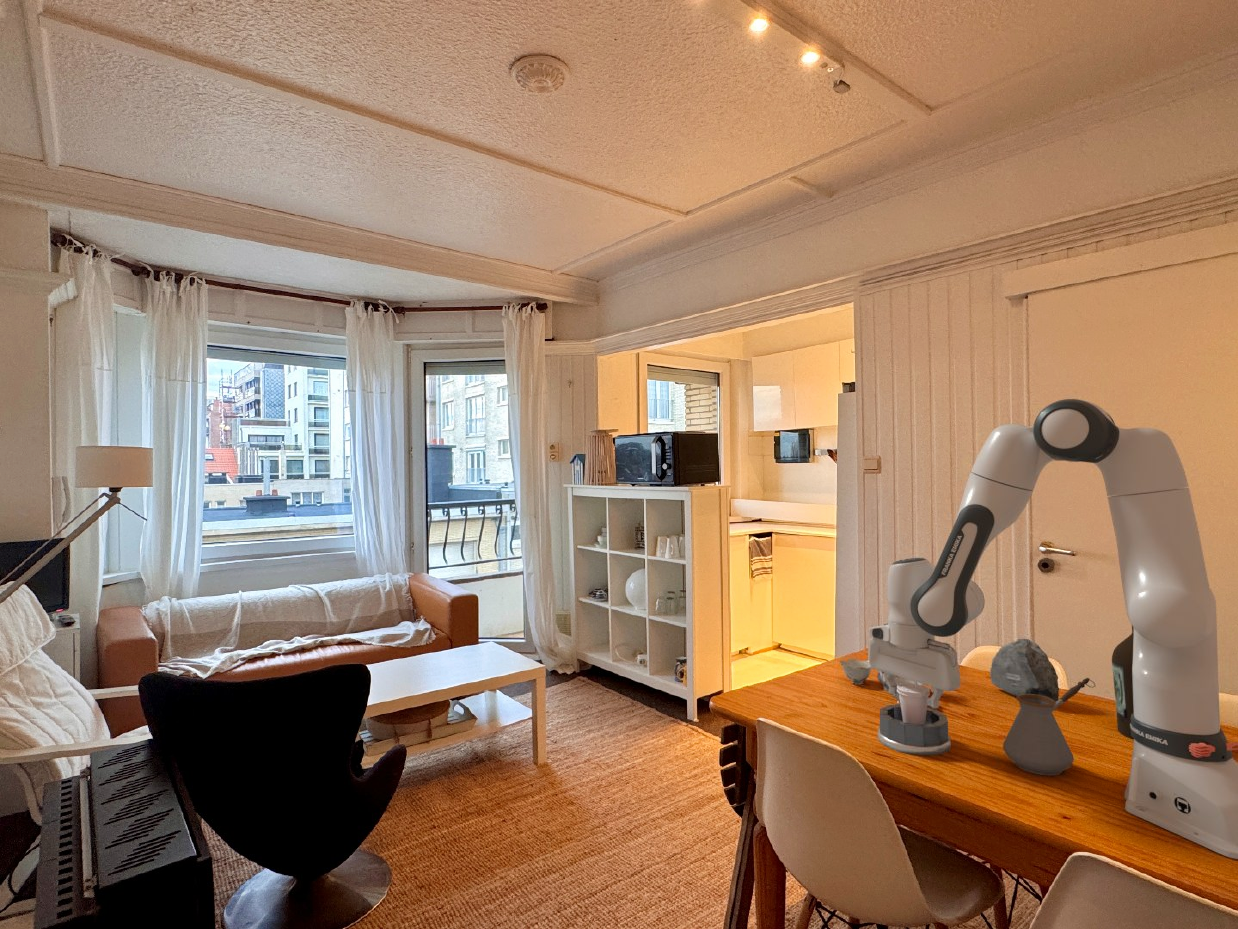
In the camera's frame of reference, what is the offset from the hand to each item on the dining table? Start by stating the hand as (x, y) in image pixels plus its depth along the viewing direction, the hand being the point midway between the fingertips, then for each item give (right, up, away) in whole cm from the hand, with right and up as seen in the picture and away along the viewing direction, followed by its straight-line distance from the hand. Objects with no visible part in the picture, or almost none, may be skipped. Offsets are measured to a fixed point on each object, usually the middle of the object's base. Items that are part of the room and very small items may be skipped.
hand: (913, 700), depth 139 cm
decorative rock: (+38, -8, +24) cm, 46 cm away
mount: (0, -9, 0) cm, 9 cm away
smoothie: (0, -7, 0) cm, 7 cm away
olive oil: (+49, -8, +1) cm, 50 cm away
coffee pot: (+23, -8, -11) cm, 27 cm away
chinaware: (+9, -9, +32) cm, 35 cm away
